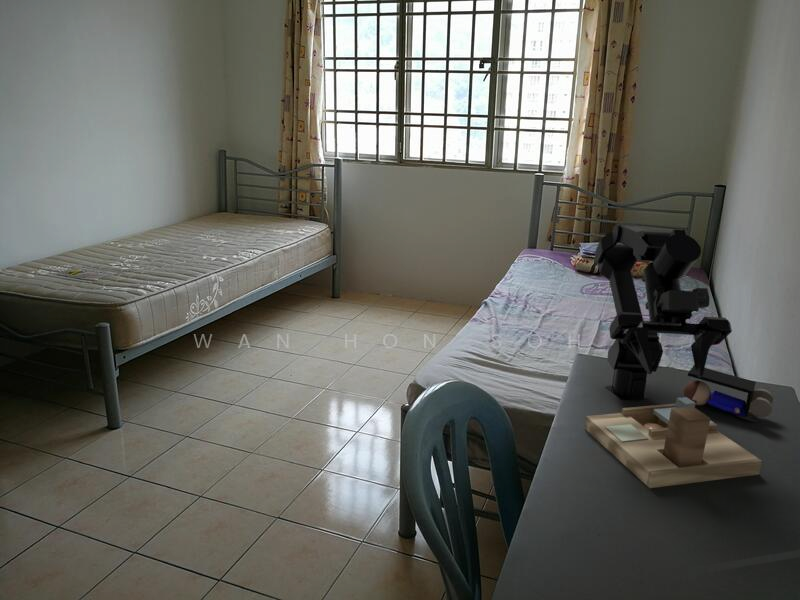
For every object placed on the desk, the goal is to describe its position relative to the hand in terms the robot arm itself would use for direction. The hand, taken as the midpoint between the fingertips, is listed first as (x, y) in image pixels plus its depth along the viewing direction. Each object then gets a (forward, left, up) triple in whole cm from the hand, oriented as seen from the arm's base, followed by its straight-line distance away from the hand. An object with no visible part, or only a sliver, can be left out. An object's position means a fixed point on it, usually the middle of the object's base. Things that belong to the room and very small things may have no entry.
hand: (675, 374), depth 106 cm
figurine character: (-10, +22, -14) cm, 28 cm away
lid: (-3, +6, -11) cm, 13 cm away
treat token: (-3, +1, -13) cm, 13 cm away
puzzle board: (+2, 0, -14) cm, 14 cm away
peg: (+8, -2, -13) cm, 15 cm away
